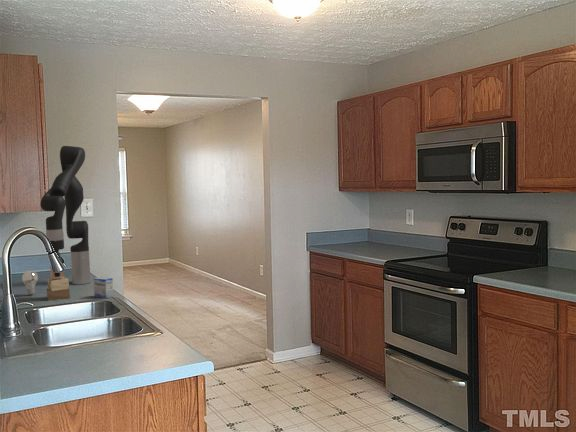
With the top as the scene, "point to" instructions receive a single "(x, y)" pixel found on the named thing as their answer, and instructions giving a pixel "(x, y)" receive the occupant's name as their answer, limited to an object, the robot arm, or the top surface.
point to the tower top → (58, 284)
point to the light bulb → (30, 281)
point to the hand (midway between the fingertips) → (56, 275)
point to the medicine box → (103, 287)
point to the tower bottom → (58, 294)
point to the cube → (54, 274)
